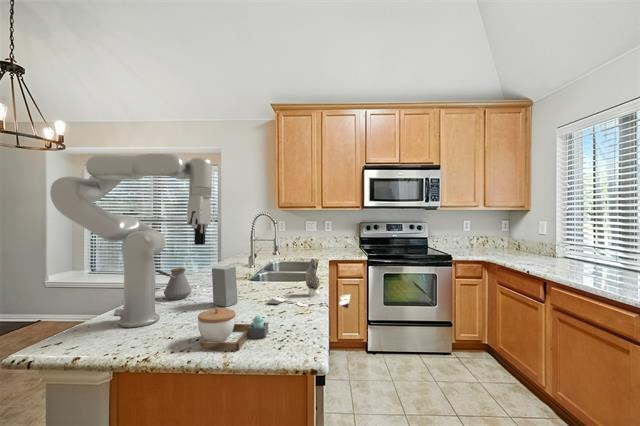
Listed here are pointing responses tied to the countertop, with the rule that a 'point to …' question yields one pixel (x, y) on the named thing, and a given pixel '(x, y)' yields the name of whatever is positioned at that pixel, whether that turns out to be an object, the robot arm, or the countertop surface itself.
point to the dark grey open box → (257, 331)
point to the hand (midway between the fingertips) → (199, 244)
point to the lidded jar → (216, 324)
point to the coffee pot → (176, 285)
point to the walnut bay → (228, 345)
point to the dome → (258, 321)
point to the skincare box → (224, 286)
